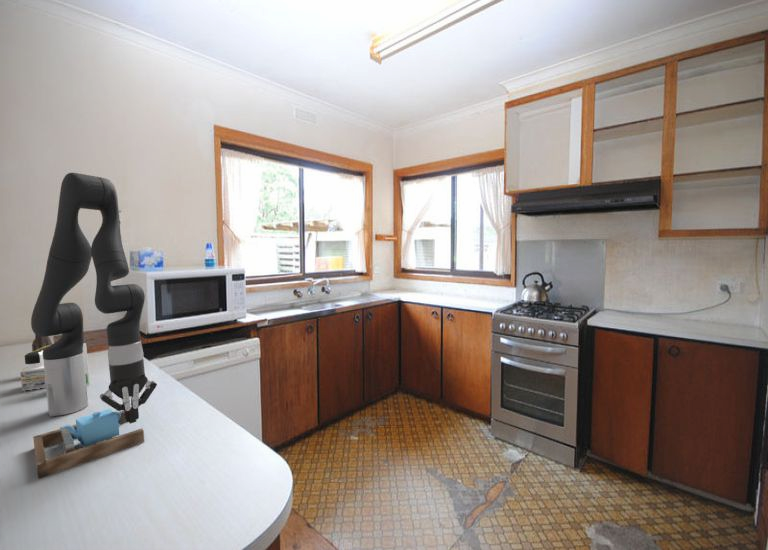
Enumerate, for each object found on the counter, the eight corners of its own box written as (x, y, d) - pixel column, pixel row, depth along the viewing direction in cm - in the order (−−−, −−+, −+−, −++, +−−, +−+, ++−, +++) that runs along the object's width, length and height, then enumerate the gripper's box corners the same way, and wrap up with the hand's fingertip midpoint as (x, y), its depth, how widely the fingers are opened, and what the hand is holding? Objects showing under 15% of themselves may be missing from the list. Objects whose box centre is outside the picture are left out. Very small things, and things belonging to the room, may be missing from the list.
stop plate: (67, 462, 82) (65, 446, 82) (61, 442, 91) (60, 427, 91) (75, 459, 84) (74, 443, 83) (69, 440, 93) (67, 425, 92)
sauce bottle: (41, 377, 142) (36, 328, 140) (29, 376, 143) (24, 327, 141) (59, 371, 148) (54, 324, 146) (47, 371, 149) (42, 324, 148)
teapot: (67, 457, 85) (64, 427, 84) (60, 449, 89) (57, 420, 88) (126, 435, 95) (123, 408, 94) (118, 429, 98) (115, 402, 98)
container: (21, 392, 127) (17, 356, 126) (30, 384, 134) (27, 351, 133) (50, 387, 131) (46, 352, 130) (57, 380, 137) (54, 347, 136)
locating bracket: (38, 478, 77) (36, 465, 77) (34, 448, 90) (33, 436, 89) (144, 441, 91) (143, 430, 91) (128, 419, 104) (127, 409, 103)
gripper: (151, 351, 103) (156, 409, 104) (92, 363, 93) (99, 427, 94) (158, 355, 97) (164, 417, 99) (97, 369, 88) (104, 436, 89)
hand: (132, 421), depth 97 cm, fingers closed
